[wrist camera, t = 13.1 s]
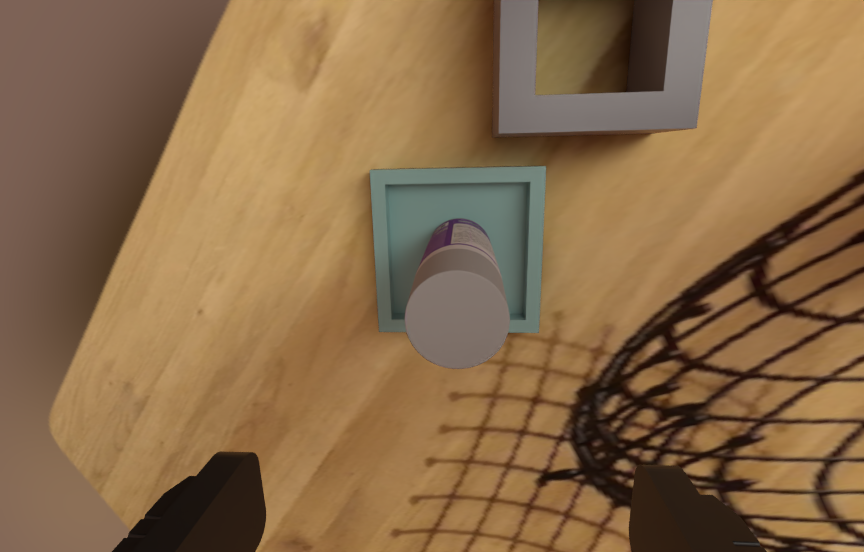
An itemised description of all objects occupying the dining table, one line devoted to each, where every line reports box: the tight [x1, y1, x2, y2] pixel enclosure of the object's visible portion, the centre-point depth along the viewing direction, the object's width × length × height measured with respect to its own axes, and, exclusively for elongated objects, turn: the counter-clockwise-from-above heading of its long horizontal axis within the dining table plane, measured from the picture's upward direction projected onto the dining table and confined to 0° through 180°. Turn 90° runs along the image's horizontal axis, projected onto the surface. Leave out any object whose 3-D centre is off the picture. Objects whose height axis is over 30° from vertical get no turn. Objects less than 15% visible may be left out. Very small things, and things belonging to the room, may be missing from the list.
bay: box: [492, 0, 713, 138], centre depth 27 cm, size 11×11×6 cm
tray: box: [370, 166, 546, 333], centre depth 33 cm, size 12×12×2 cm
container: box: [405, 218, 510, 369], centre depth 26 cm, size 5×5×15 cm
